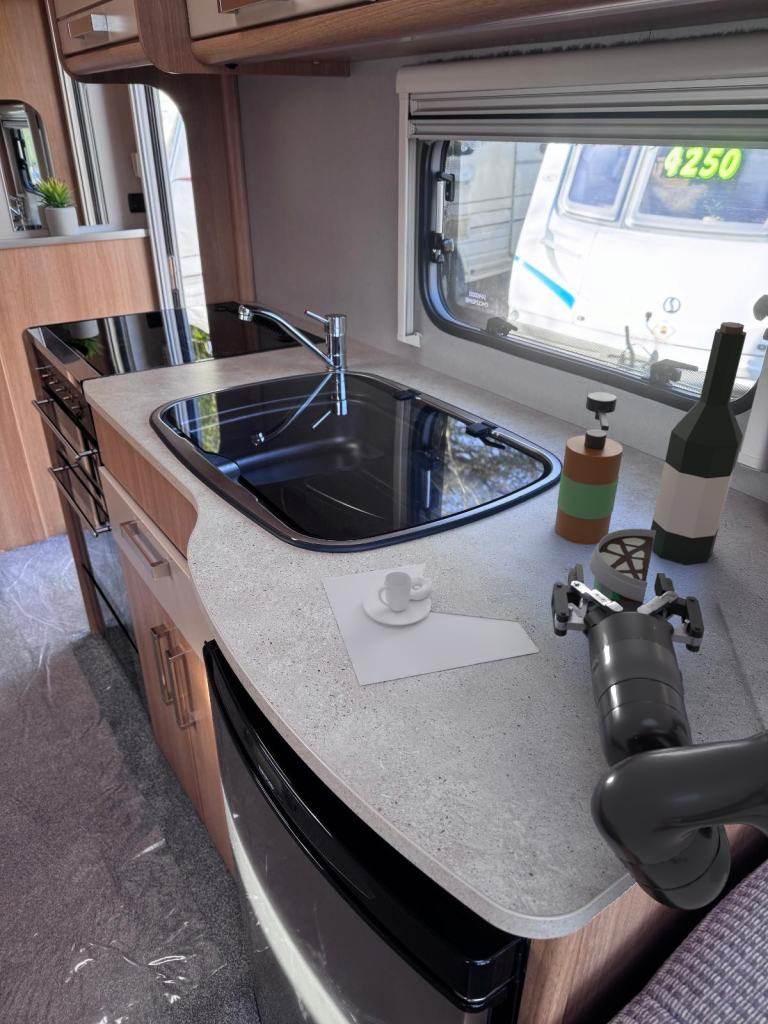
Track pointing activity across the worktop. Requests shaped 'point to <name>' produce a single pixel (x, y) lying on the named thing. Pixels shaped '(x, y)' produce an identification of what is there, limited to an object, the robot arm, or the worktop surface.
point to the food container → (623, 564)
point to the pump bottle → (588, 487)
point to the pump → (601, 406)
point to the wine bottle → (701, 460)
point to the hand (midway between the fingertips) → (618, 575)
